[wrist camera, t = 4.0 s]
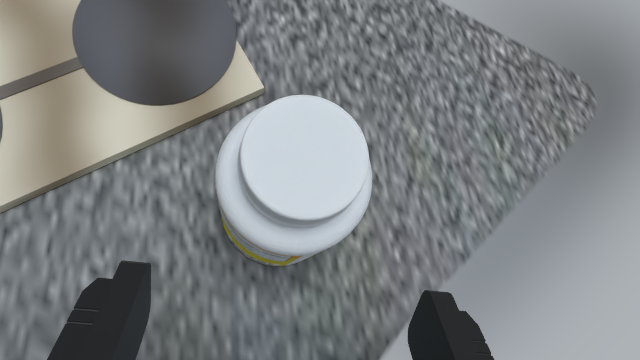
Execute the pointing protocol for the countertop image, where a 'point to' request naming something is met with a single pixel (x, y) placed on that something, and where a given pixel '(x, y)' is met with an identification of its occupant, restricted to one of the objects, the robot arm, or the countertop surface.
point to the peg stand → (108, 82)
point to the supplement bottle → (292, 179)
